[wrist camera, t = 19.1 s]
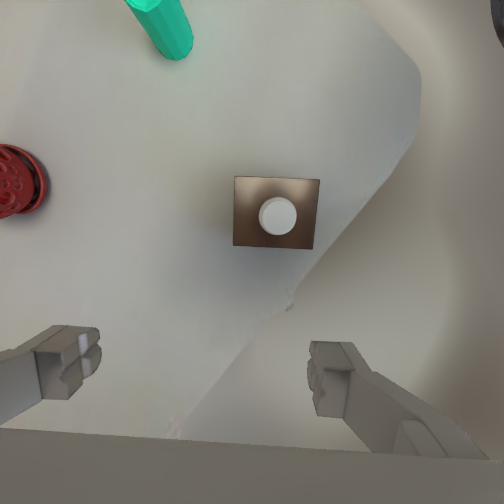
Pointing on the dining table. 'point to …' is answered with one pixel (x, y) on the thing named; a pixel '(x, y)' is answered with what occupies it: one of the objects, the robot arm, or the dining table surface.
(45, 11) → the dining table surface
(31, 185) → the flower pot
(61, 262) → the dining table surface
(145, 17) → the candle
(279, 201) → the pill bottle
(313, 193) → the walnut box
